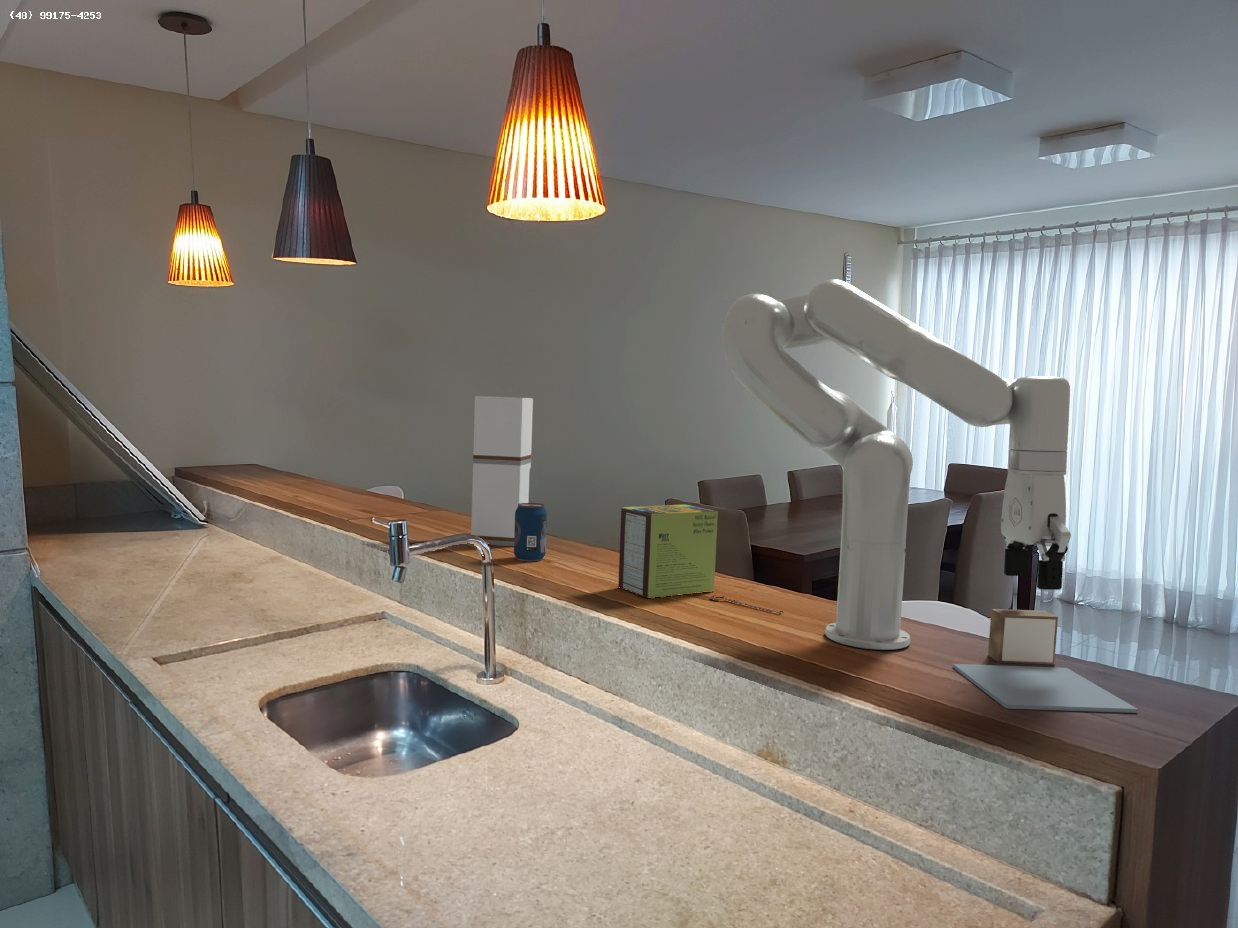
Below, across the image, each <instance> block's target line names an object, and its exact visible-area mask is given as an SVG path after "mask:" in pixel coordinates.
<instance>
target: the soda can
mask: <svg viewBox="0 0 1238 928" xmlns="http://www.w3.org/2000/svg"><path fill="white" fill-rule="evenodd" d="M547 522H548V512H547V510H546V506H545V504H544V503H539V502H529V503H519V504H518V507H517V509H516V511H515V530H514V546H513V555H514V556H515V558H516V560H517V561H522V562H540V561H542V560H543V559H544V557H545V555H546V554H547V553H546V552H547V528H548V527H547V524H548V523H547Z"/></svg>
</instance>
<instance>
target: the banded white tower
mask: <svg viewBox="0 0 1238 928" xmlns="http://www.w3.org/2000/svg"><path fill="white" fill-rule="evenodd" d="M533 408H534V398H532V397H511V396H491V395H490V396H488V395H486V396H484V395H474V413H473V414H474V417H473V418H474V419H473V424H474V425H473V450H472V451H473V454H472V456H473V457H472V483H471V484H472V487H471V488H472V489H471V490H472V491H471V498H472V499H471V519H470V520H471V522H470V523H471V524H470V526H471V527H470V536H471V535H476V536H478V537H480V538H482V539H483V540H484V541H485V542H487V543H489V544H490V545H489V546H500V547H501V546H502V547H514V530H515V511H516V509H517V507H518V504H519V503H530V502H529V499H530V498H529V494H530V493H529V492H530V470H531V469H532V466H531V465H532V446H533V445H532V444H533V443H532V441H533V439H532V438H533V411H534V410H533Z"/></svg>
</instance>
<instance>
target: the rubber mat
mask: <svg viewBox="0 0 1238 928" xmlns="http://www.w3.org/2000/svg"><path fill="white" fill-rule="evenodd" d="M952 669H954V670H955V671H956V672H957V673H959V674H961V675H962V676H963V677H964V678H966V679H967V680H968V681H970V682H971V683H972V684H973V685H975V686H976V687H977V688H979V689H980V690H981V691H983V692H984V693H985V694H987V695H988V696H989V697H991V698H992V699H994V700H995V702H997V703H998V704H999V705H1001V706H1002V707H1003V708H1005V709H1008V710H1009V709H1010V710H1011V709H1012V710H1013V709H1014V710H1035V711H1036V710H1037V711H1038V710H1039V711H1040V710H1041V711H1064V712H1065V711H1071V712H1094V713H1095V712H1098V713H1124V714H1125V713H1126V714H1127V713H1128V714H1138V708H1137V707H1135V706H1133V705H1131V704H1130V703H1128V702H1126V701H1124V700H1123V699H1121V698H1120V697H1118V696H1116V695H1114V694H1113V693H1111V692H1110V691H1108V690H1106V689H1104V688H1103V687H1100V686H1099V685H1097V684H1096V683H1093V682H1092V681H1090V680H1088V679H1087V678H1085V677H1083V676H1082V675H1080V674H1078V673H1076V672H1075V671H1073V670H1071V669H1070V668H1068V667H1052V666H1050V667H1049V666H1025V665H1023V666H1021V665H996V664H995V665H994V664H970V663H968V664H967V663H966V664H965V663H964V664H963V663H952Z"/></svg>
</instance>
